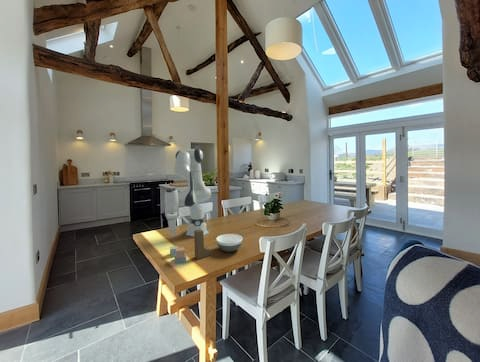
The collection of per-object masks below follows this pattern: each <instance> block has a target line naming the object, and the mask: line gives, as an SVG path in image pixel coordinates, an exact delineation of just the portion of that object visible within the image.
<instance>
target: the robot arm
mask: <svg viewBox="0 0 480 362" xmlns="http://www.w3.org/2000/svg"><path fill="white" fill-rule="evenodd" d="M203 159H204V153H203V151H202V149H200V148H188V149H183V150H181V149H180V150H178V151H177V152H176V153H175V162H174V167H173V171H174V173H175V175H176V176H178V177H180V178H181V179H183V180H184V179H185V180H187V189H185V190H183V191H178V189H177V188H175V187H170V188H167V189H165V191H164V205H165V207H164V215H165V218H166V220H167V224H168V230H169V232H170V233H171V234H170V235H171V237H175V236H176V235H175V232H176V230H177V219H178V217H179V216H180V207H188V209H189V216H190V218H189V224H187V231H186V232H185V235H186V236H187V237H192V238H193V237H194V231H195V230H199V229H201V230H203V234H204V236H206V235H208V234H210V233H209V232H210V231H208V230H207V223H206V222H205V216H204V207H202V206H201V205H198V202H204V201H207V200H210V199H211V197H212V191H211V190H210V188H209V187H207V186H206V184H205V183H204V181H203V173H202V165H201V162H203Z"/></svg>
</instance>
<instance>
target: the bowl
mask: <svg viewBox="0 0 480 362" xmlns="http://www.w3.org/2000/svg"><path fill="white" fill-rule="evenodd" d="M243 239H244V238H243V236H242V235H240V234H236V233H224V234H220V235H218V236H217V237H216V238H215V240H216V244H217V246H218V248H219V249H220V250H222V251H224V252H226V253H232V252H235V251H236V250H238V249H240V247H241V246H242V243H243Z"/></svg>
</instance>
